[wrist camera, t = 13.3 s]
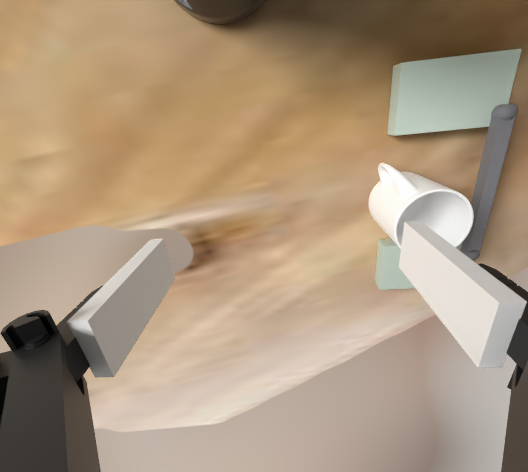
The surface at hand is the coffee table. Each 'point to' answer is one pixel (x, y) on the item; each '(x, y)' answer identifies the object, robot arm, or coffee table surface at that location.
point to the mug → (419, 206)
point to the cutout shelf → (453, 118)
